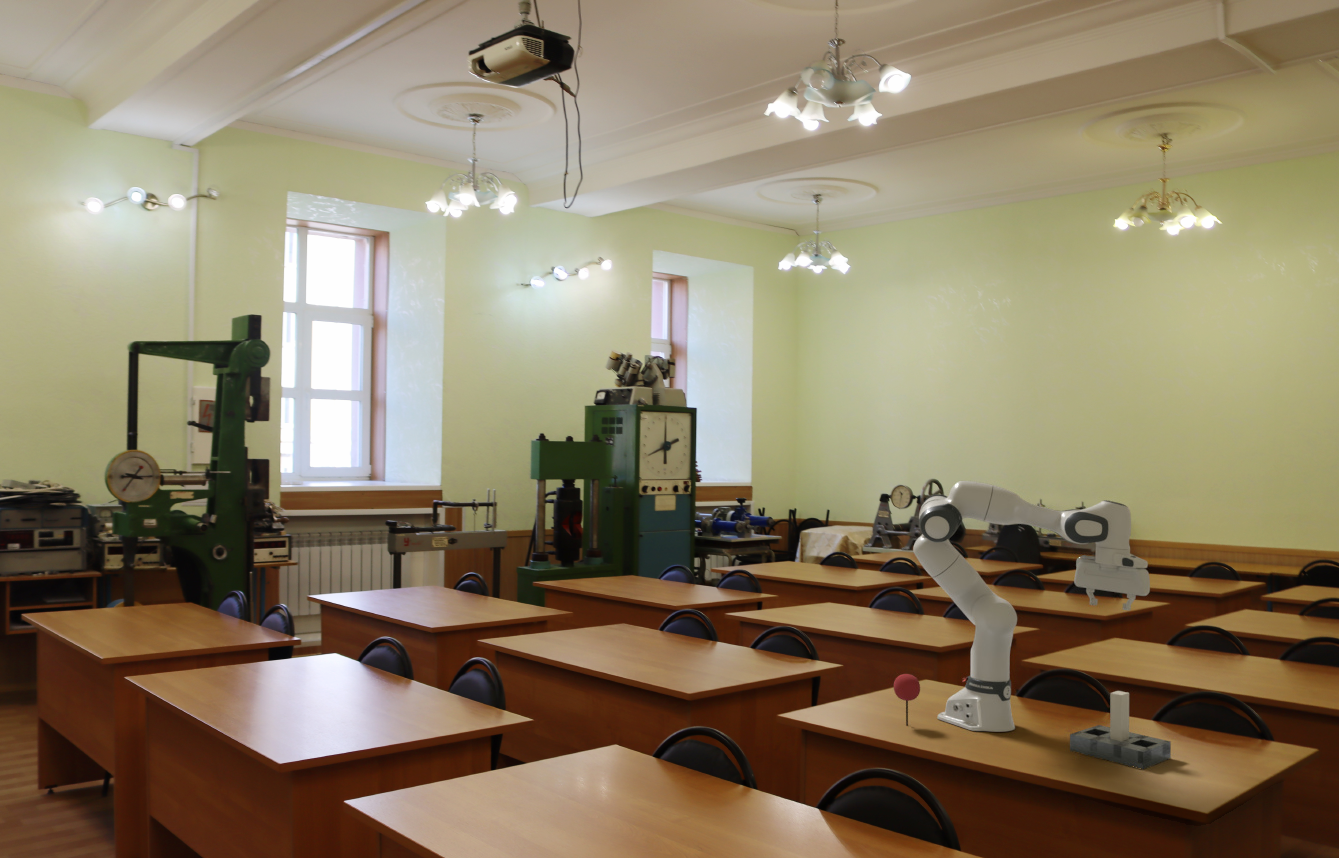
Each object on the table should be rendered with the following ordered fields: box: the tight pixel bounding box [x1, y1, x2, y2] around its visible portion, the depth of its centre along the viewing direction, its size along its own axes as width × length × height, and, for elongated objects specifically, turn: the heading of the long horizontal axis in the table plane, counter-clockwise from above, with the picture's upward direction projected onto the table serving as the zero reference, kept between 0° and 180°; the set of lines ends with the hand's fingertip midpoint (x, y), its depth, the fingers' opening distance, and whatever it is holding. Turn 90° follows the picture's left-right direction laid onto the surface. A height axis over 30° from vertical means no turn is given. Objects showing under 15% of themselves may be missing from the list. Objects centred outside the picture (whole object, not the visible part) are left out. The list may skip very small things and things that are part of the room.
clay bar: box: [1109, 690, 1130, 742], centre depth 256 cm, size 4×3×15 cm, turn 130°
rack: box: [1069, 724, 1172, 770], centre depth 256 cm, size 16×20×4 cm
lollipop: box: [893, 673, 921, 726], centre depth 281 cm, size 8×8×15 cm
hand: (1109, 607), depth 268 cm, fingers open, 8 cm apart
